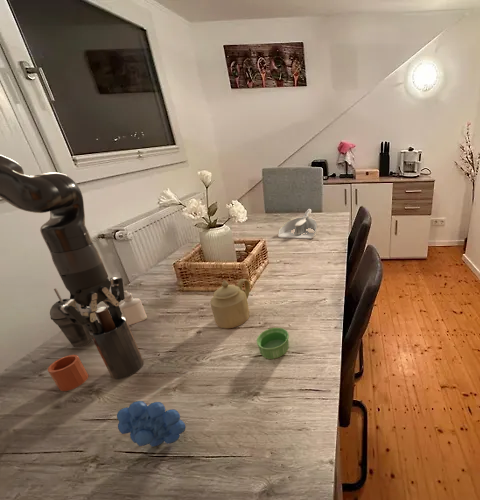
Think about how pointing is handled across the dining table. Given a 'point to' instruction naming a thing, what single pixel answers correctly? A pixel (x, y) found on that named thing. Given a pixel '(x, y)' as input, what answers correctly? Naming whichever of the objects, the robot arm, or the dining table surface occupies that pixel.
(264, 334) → the ramekin
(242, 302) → the sugar bowl
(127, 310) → the eye dropper bottle
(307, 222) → the dustpan and brush
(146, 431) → the grapes
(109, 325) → the brown wooden rod
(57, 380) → the brush holder
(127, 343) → the dark grey tumbler
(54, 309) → the beverage cup
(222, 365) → the dining table surface
